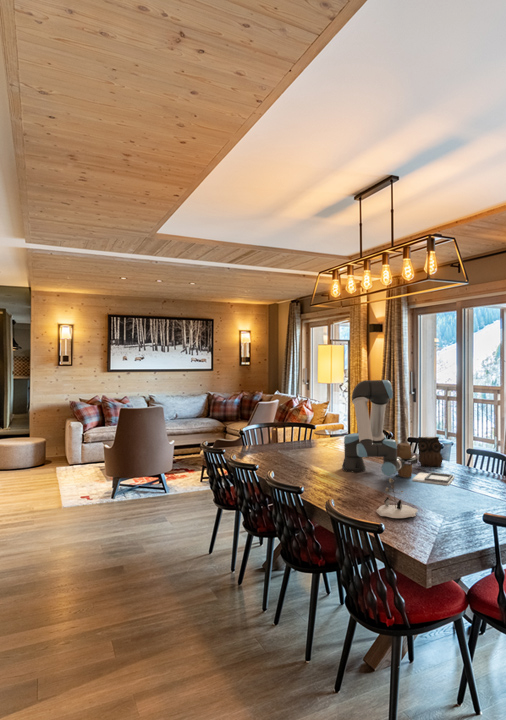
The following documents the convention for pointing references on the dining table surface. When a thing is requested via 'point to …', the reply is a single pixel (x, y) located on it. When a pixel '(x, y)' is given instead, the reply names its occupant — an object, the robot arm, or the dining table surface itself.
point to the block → (405, 452)
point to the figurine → (395, 507)
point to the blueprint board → (434, 478)
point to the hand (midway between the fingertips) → (405, 456)
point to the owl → (429, 452)
